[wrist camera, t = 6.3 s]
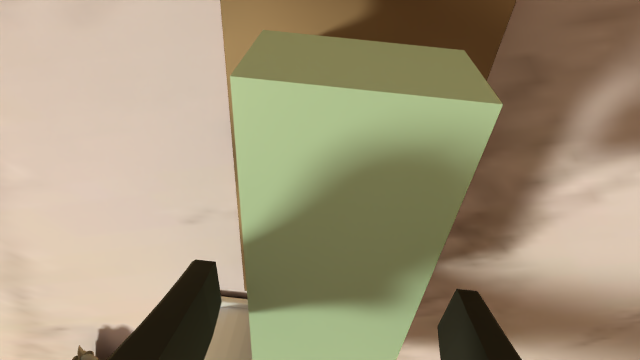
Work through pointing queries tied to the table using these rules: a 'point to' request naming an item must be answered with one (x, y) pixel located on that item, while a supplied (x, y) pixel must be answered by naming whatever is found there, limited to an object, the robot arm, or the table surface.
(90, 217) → the table surface
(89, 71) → the table surface
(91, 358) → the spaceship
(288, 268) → the shelf board
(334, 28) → the peg base
